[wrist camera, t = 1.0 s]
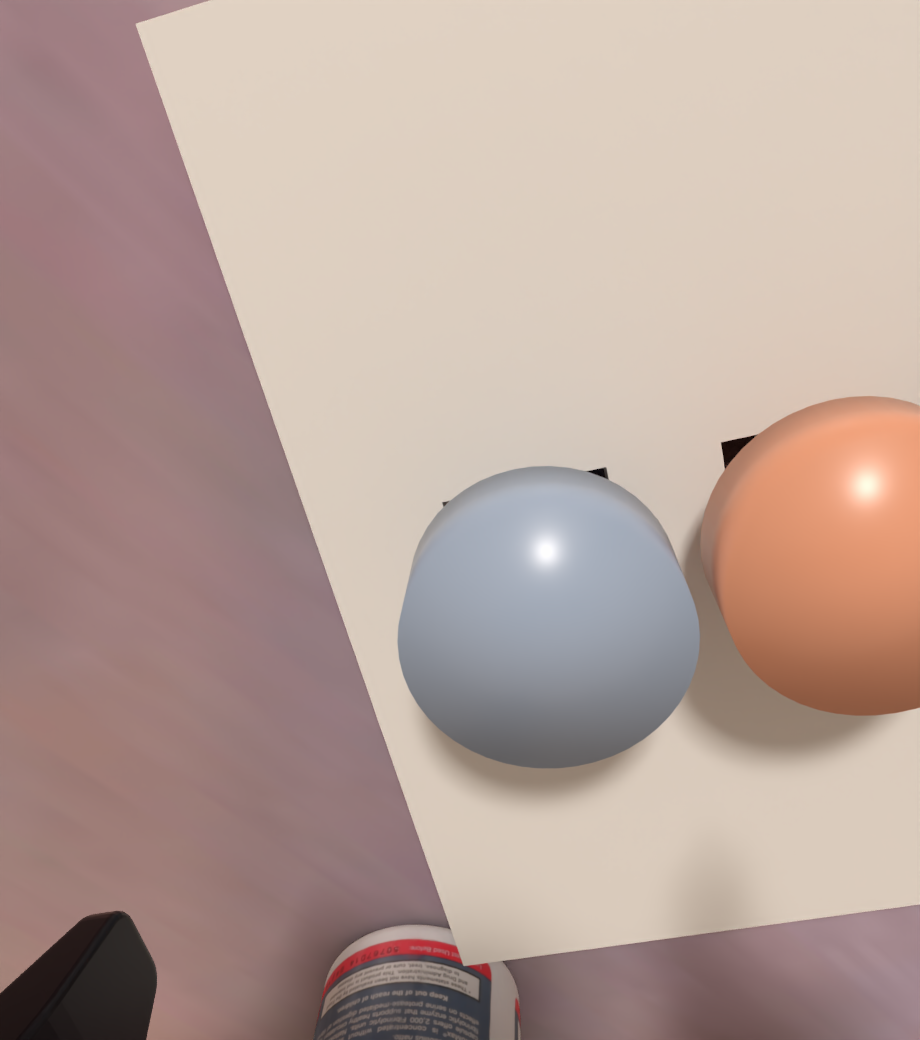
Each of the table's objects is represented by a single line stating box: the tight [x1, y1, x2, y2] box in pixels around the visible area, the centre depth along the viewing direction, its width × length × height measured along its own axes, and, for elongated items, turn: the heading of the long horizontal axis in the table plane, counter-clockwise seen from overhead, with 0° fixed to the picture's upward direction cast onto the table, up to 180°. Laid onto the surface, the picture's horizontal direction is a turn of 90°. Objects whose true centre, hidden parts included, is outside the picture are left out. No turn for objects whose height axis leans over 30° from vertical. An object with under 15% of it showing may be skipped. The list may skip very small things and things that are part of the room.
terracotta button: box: [700, 396, 920, 716], centre depth 14 cm, size 5×5×4 cm
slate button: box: [397, 466, 700, 768], centre depth 15 cm, size 5×5×4 cm
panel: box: [136, 0, 920, 966], centre depth 17 cm, size 18×20×2 cm
